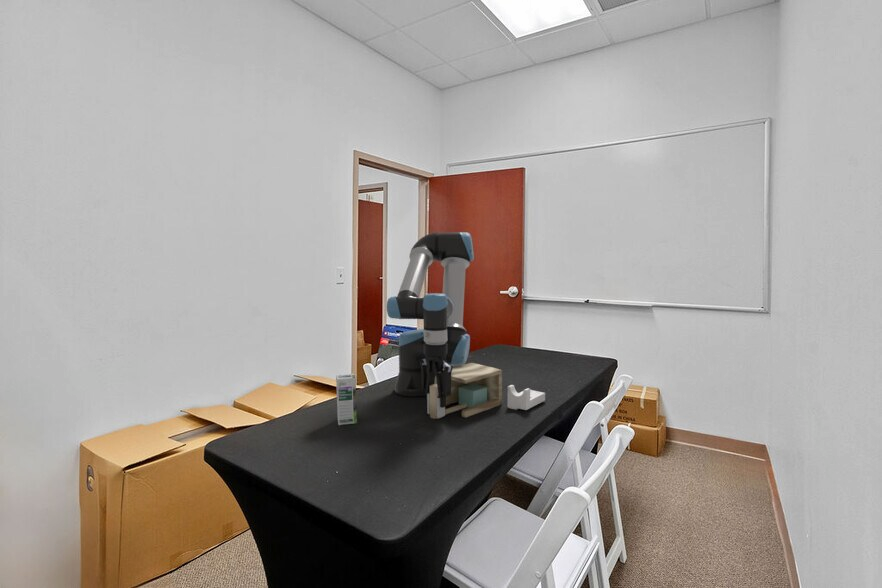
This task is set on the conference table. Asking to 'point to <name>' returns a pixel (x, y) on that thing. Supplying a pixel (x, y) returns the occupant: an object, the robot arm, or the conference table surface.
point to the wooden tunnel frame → (480, 377)
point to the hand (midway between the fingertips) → (436, 414)
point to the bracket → (524, 398)
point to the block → (467, 398)
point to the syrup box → (346, 399)
